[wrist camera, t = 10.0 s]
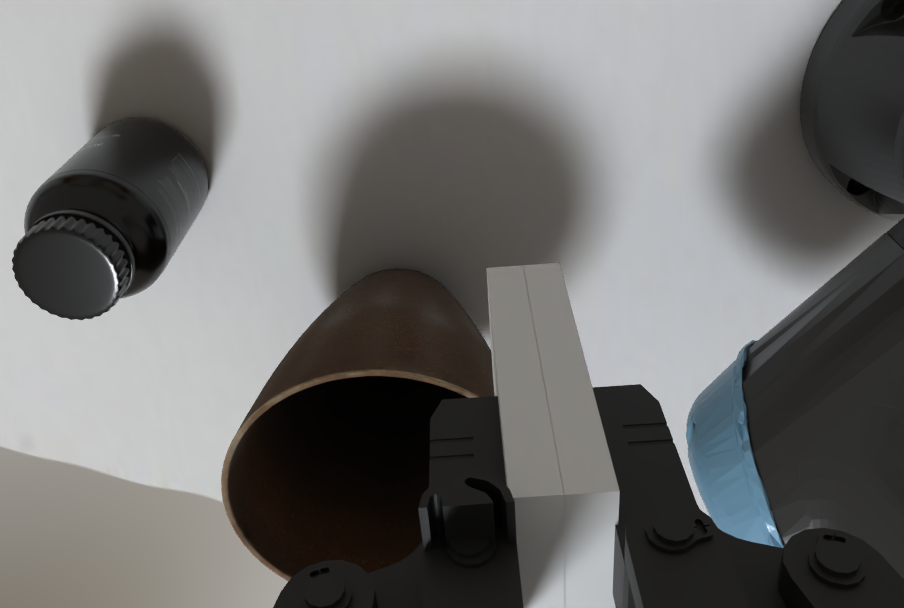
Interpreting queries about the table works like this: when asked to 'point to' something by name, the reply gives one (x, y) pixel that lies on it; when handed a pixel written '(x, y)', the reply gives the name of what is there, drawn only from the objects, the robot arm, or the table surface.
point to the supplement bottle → (110, 218)
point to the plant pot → (352, 426)
